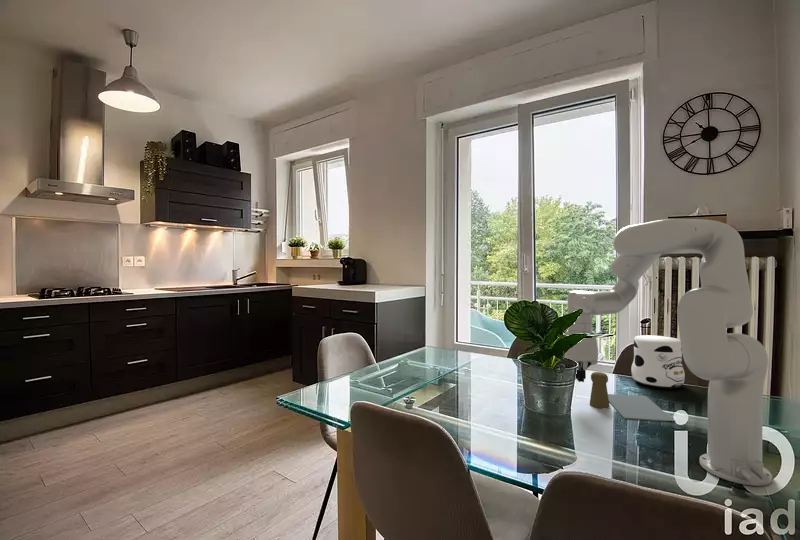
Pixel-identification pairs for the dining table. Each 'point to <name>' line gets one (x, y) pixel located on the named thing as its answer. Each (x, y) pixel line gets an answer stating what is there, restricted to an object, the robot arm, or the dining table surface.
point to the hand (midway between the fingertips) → (580, 380)
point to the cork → (599, 390)
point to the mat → (637, 408)
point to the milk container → (658, 361)
